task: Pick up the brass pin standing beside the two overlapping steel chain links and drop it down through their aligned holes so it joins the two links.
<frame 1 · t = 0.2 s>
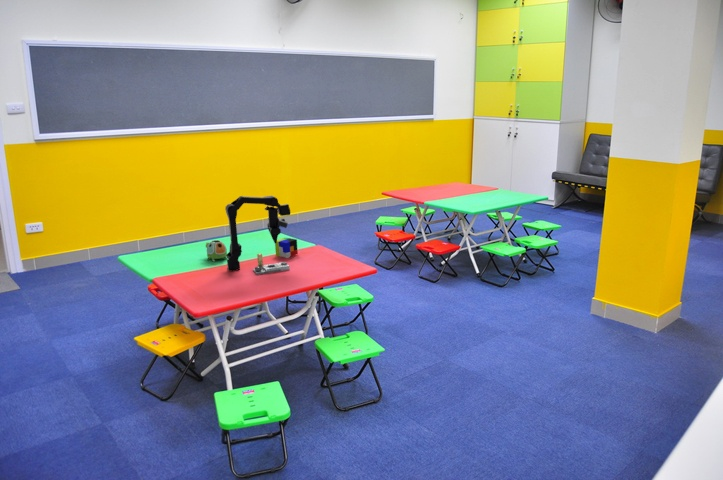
hand: (274, 241, 353), 14 cm above the table, tool pointing down, fingers open, 9 cm apart
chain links: (271, 270, 343), on the table
turtle holder: (216, 258, 370), on the table
brass pin: (260, 266, 350), on the table
puzzle toy: (286, 255, 374), on the table
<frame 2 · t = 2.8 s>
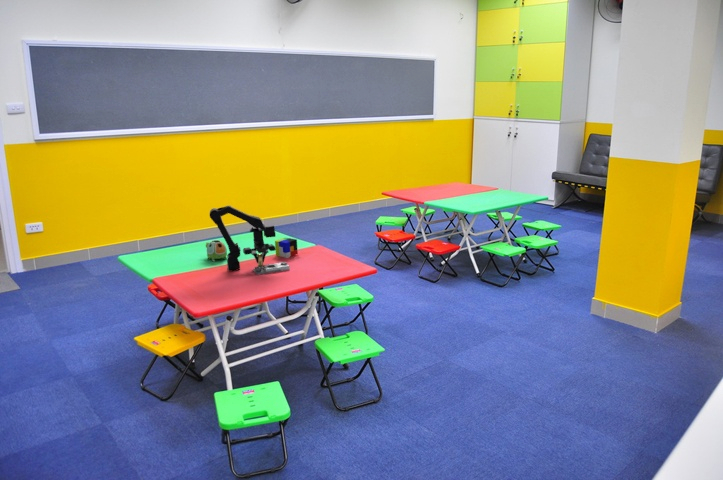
hand: (260, 262, 349), 3 cm above the table, tool pointing down, fingers closed on brass pin, 3 cm apart
brass pin: (260, 266, 350), on the table, touching gripper
everything else where it was.
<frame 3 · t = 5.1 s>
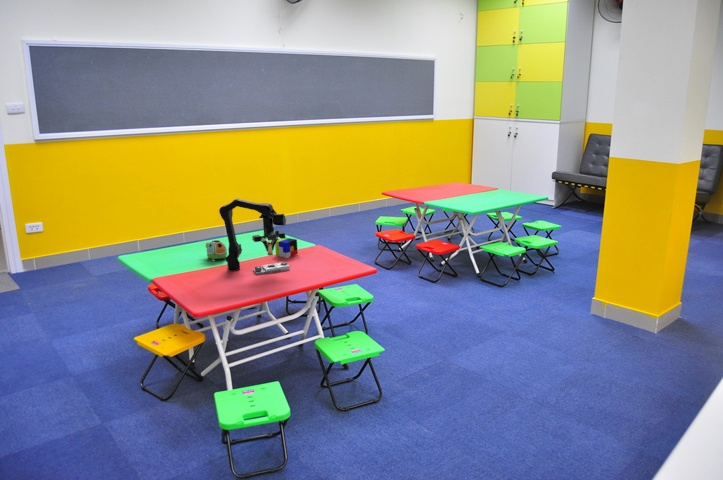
hand: (269, 250, 340), 12 cm above the table, tool pointing down, fingers closed on brass pin, 3 cm apart
brass pin: (270, 254, 340), point 10 cm above the table, touching gripper
everything else where it was.
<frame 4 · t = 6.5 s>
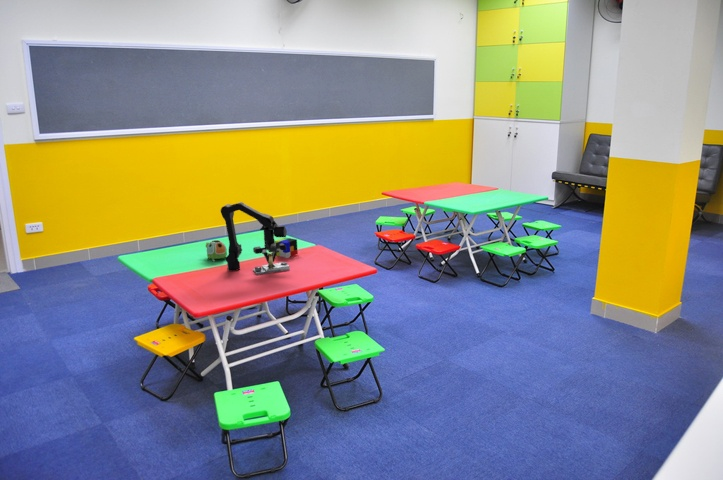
hand: (270, 262, 342), 5 cm above the table, tool pointing down, fingers closed on brass pin, 3 cm apart
brass pin: (271, 266, 342), point 2 cm above the table, touching gripper
everything else where it was.
when the fingers open (4 cm above the table, at t = 7.6 s): brass pin drops 1 cm, resting in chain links.
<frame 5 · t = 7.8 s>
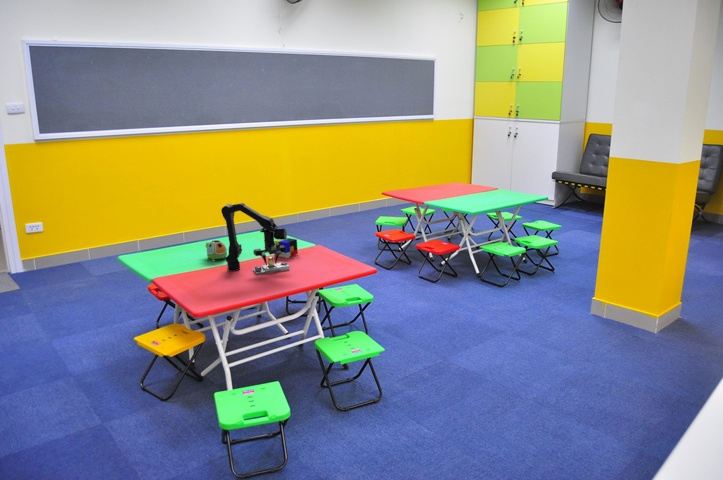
hand: (270, 264, 342), 4 cm above the table, tool pointing down, fingers open, 5 cm apart
brass pin: (271, 270, 343), resting in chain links
everything else where it was.
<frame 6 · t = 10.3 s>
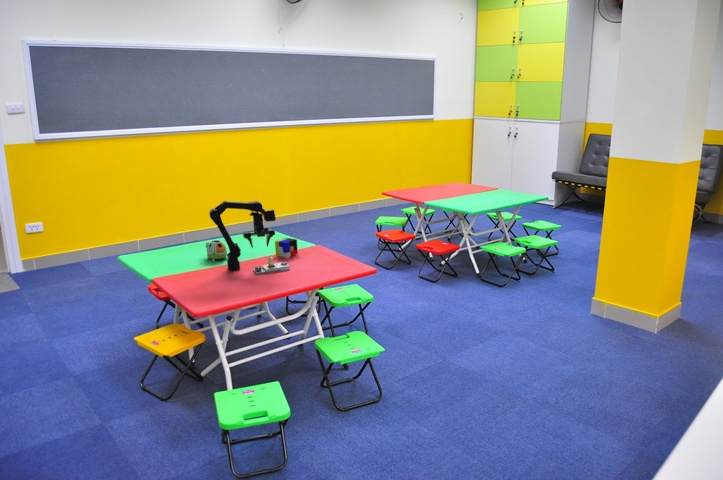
hand: (259, 247, 348), 12 cm above the table, tool pointing down, fingers open, 9 cm apart
nothing on the table moved.
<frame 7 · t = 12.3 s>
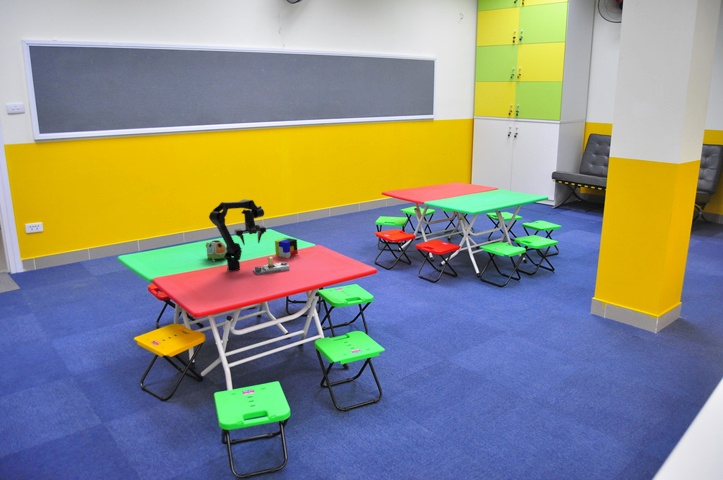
hand: (251, 244, 356), 12 cm above the table, tool pointing down, fingers open, 9 cm apart
nothing on the table moved.
at the end: brass pin 0.0 cm off-centre on the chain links, point 0.0 cm above the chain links's base; brass pin tilted 0°; the gripper is holding nothing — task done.
